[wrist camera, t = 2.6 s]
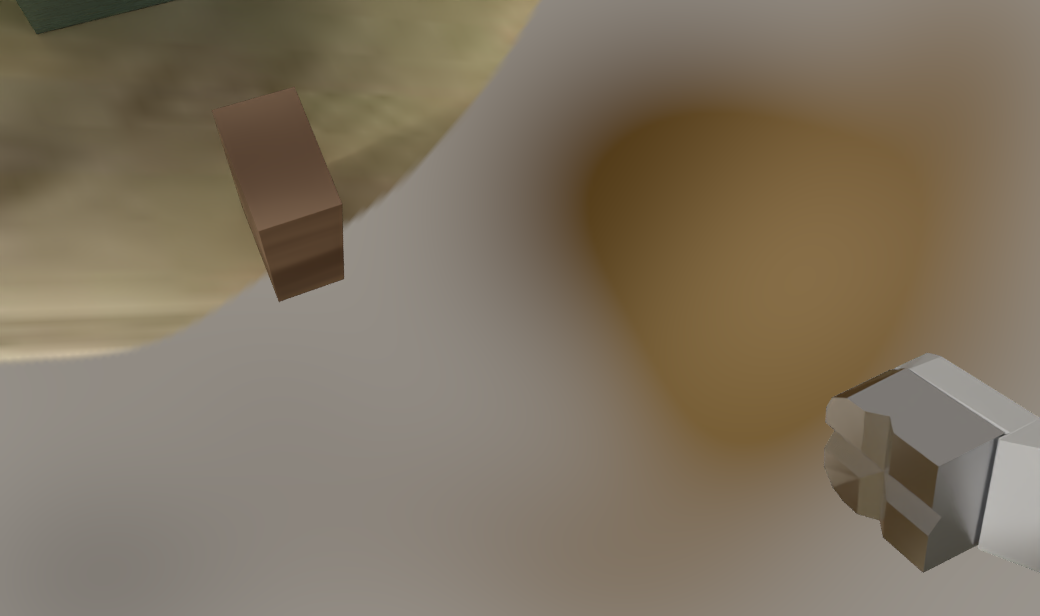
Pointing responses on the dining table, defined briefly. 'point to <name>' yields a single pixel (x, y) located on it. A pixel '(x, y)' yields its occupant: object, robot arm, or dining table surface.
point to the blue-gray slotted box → (75, 11)
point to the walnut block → (284, 191)
